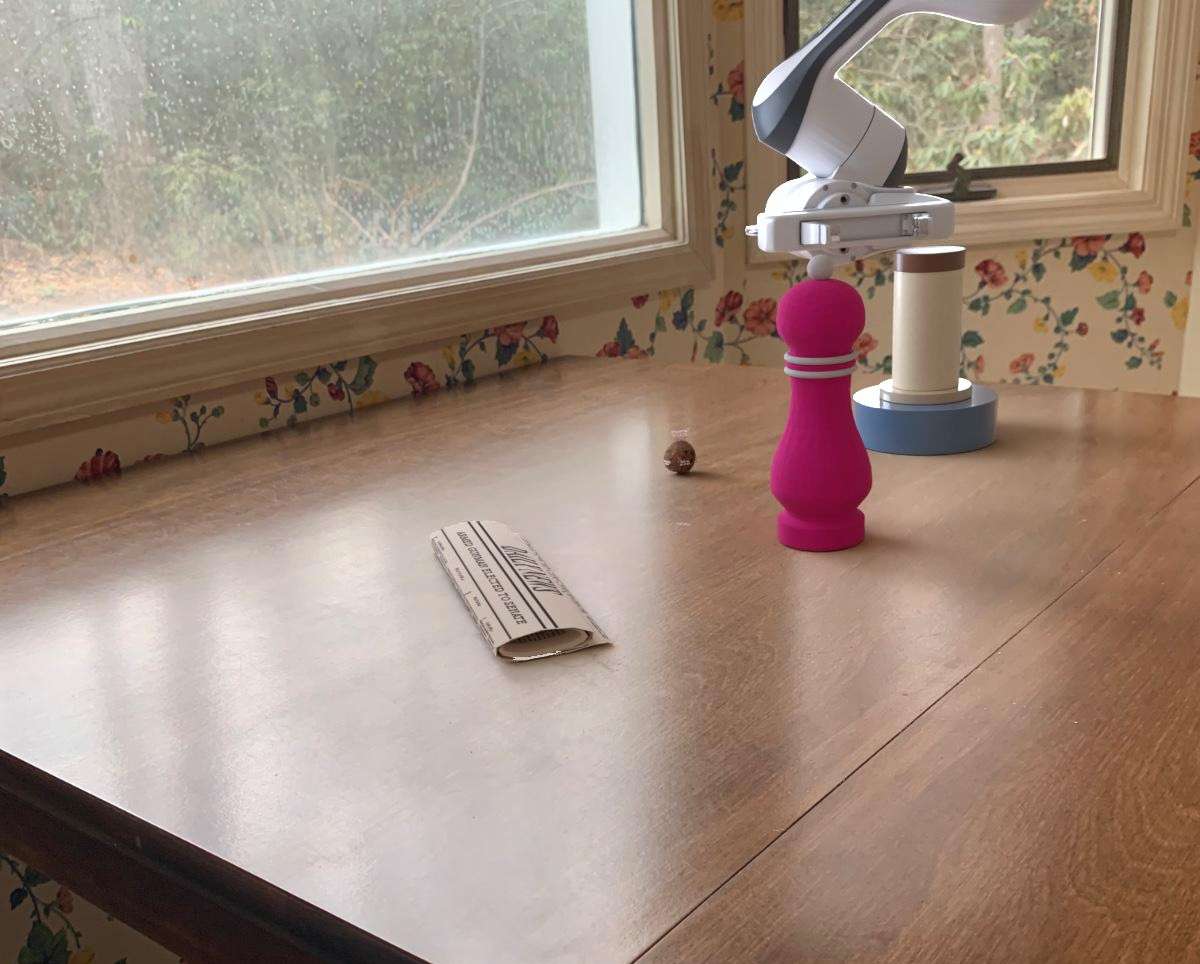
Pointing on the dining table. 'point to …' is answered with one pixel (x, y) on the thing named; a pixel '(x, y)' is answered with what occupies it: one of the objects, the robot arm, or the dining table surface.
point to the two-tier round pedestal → (926, 419)
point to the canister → (927, 317)
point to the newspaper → (512, 592)
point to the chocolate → (680, 455)
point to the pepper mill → (821, 416)
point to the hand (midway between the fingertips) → (879, 231)
